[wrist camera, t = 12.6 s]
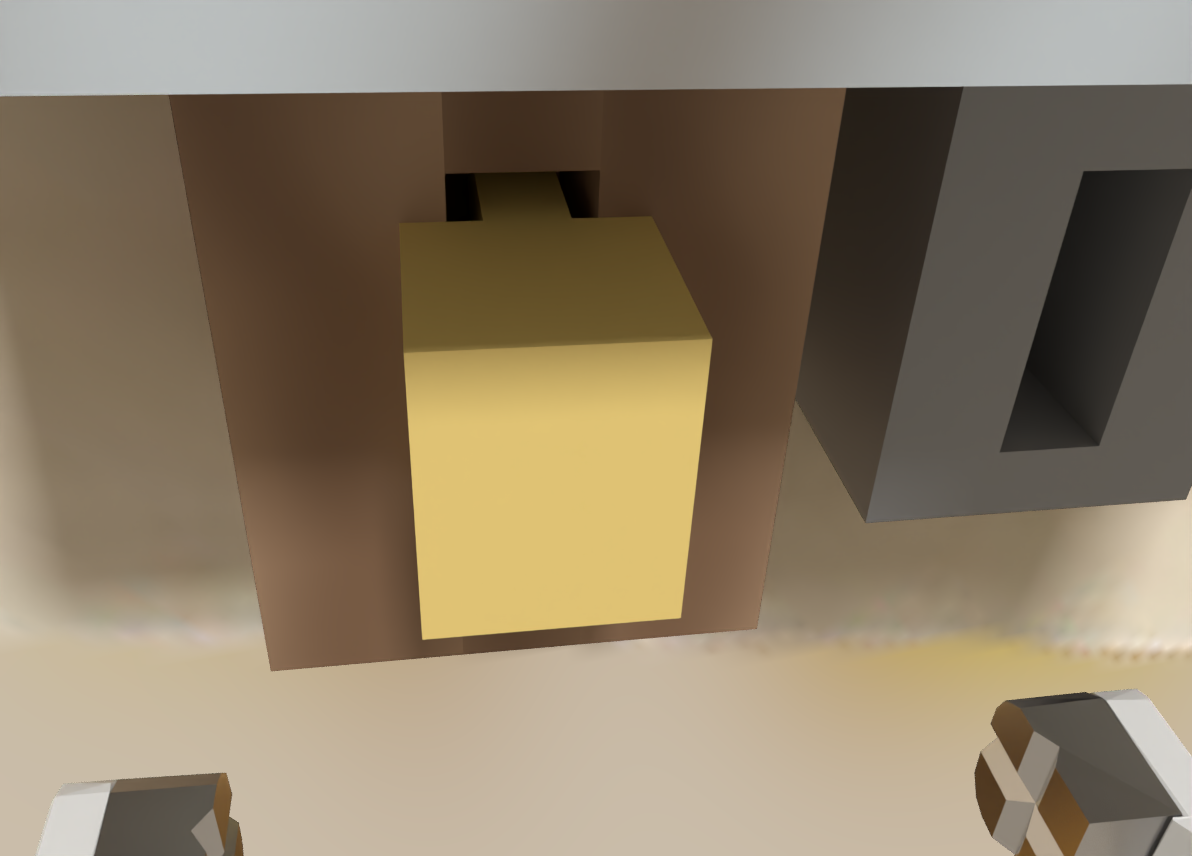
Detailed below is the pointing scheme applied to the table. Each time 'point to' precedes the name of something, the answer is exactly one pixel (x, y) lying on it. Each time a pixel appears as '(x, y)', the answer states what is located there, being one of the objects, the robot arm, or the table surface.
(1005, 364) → the dark gray slotted block
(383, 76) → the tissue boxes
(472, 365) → the yellow tabbed block
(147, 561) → the table surface
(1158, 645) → the table surface
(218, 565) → the table surface
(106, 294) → the table surface
